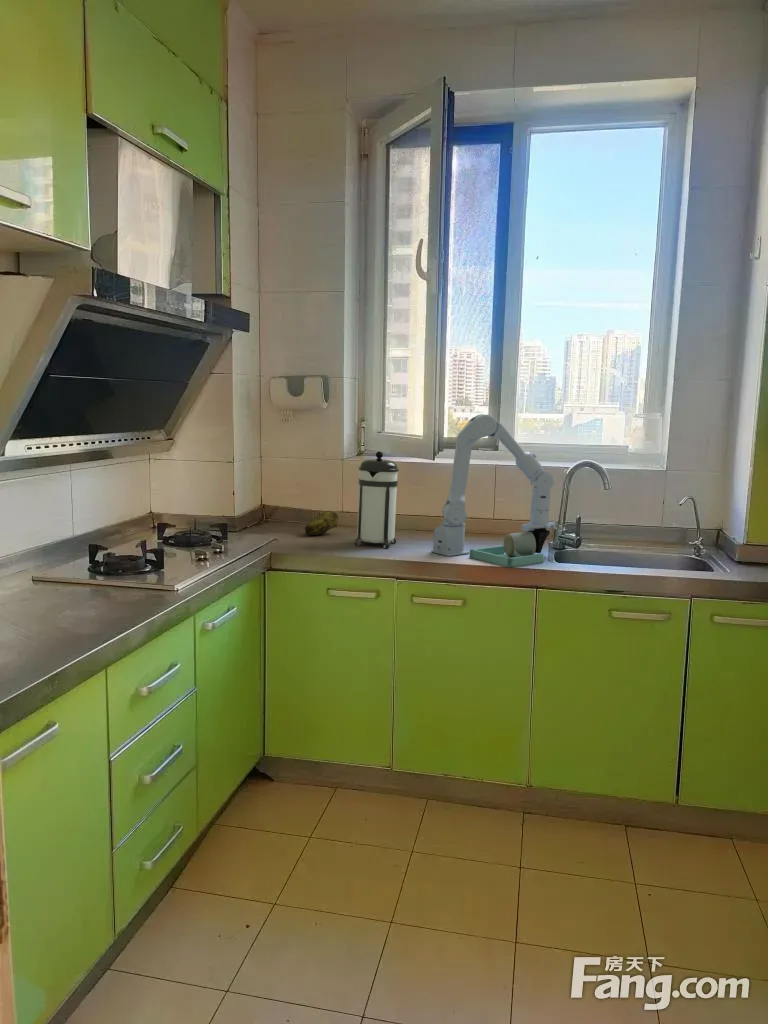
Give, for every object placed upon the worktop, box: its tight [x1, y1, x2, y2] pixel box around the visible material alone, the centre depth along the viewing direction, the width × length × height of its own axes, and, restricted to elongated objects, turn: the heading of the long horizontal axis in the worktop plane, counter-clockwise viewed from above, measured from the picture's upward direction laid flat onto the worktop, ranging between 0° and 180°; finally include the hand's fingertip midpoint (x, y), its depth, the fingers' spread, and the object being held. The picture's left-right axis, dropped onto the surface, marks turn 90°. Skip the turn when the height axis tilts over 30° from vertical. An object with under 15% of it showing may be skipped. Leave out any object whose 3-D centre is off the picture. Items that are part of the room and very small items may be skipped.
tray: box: [469, 544, 544, 568], centre depth 232 cm, size 15×16×2 cm
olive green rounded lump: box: [304, 510, 339, 536], centre depth 261 cm, size 8×13×8 cm, turn 118°
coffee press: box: [354, 450, 400, 549], centre depth 247 cm, size 17×16×30 cm
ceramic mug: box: [503, 531, 536, 557], centre depth 236 cm, size 11×8×8 cm
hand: (536, 552), depth 241 cm, fingers closed
